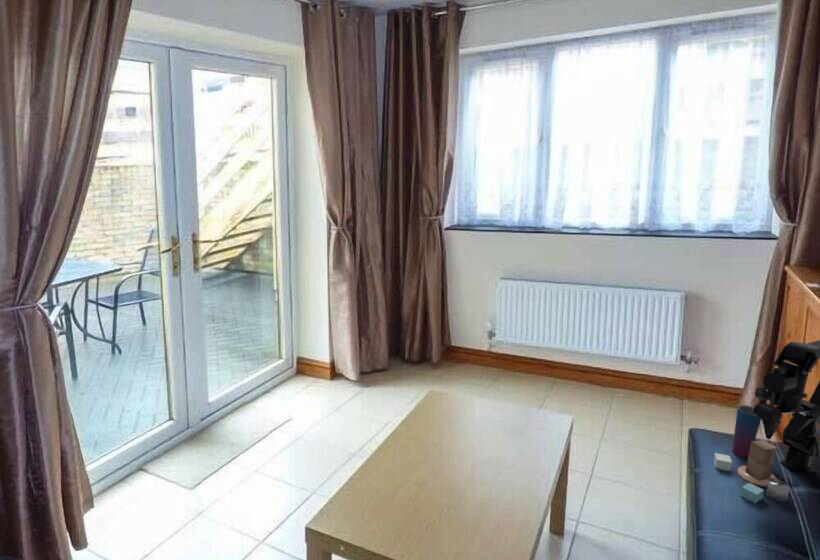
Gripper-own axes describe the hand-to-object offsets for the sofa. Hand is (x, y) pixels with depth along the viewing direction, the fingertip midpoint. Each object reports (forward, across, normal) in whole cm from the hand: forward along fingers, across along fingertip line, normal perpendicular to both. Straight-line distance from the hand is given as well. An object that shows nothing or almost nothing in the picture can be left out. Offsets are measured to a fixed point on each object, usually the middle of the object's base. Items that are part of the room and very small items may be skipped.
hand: (780, 437), depth 162 cm
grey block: (+14, +9, -8) cm, 19 cm away
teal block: (+14, +14, +6) cm, 21 cm away
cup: (+13, -3, -13) cm, 19 cm away
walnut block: (+13, +4, -1) cm, 13 cm away
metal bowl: (+13, +6, +8) cm, 17 cm away
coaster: (+13, +4, -1) cm, 14 cm away
